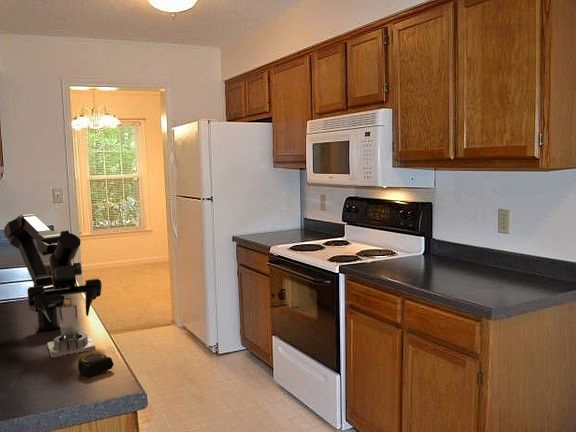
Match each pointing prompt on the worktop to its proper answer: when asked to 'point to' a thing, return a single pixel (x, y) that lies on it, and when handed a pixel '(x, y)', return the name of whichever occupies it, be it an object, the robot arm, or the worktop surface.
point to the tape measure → (94, 364)
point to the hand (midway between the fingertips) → (69, 318)
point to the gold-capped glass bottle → (68, 321)
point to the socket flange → (70, 345)
